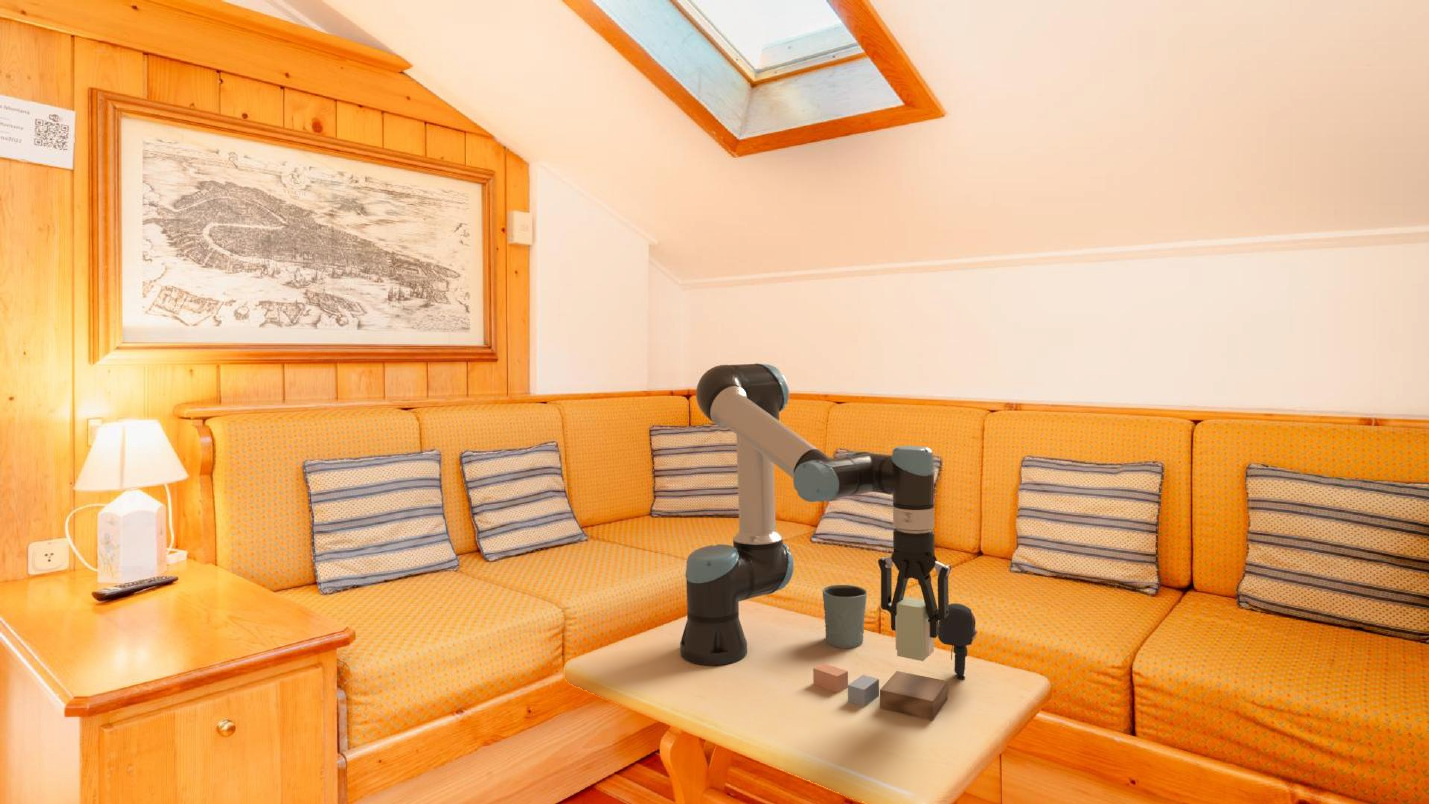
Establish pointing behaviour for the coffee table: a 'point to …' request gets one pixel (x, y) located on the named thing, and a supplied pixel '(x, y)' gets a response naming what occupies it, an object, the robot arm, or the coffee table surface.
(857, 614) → the grey green cup
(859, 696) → the brick slate
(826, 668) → the brick terracotta
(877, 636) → the coffee table surface
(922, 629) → the brick sage
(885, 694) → the brick walnut
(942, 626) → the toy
